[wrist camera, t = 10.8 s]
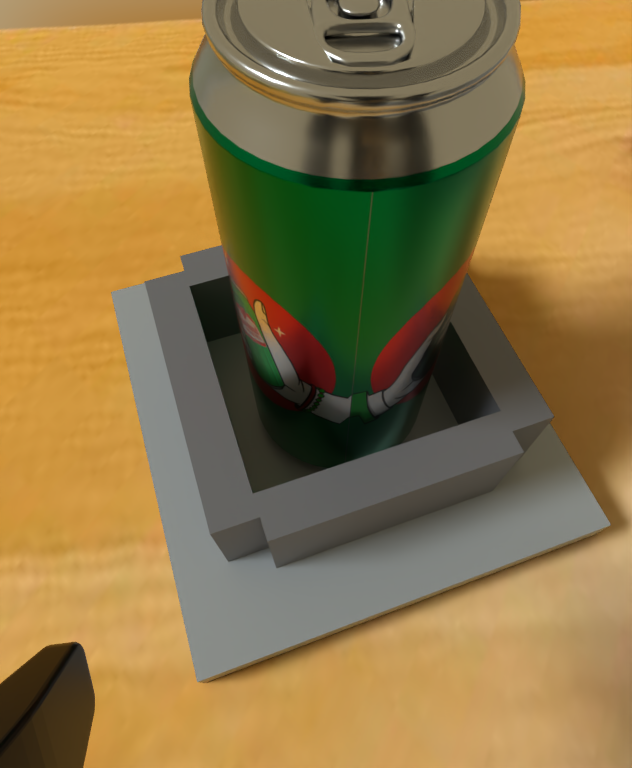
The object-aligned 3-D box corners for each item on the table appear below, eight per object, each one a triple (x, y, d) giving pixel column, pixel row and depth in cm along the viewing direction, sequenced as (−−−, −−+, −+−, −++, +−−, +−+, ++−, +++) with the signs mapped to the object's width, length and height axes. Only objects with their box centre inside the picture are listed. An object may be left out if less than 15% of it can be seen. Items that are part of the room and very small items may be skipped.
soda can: (406, 330, 20) (507, -101, 9) (428, 471, 17) (600, 107, 7) (257, 337, 19) (183, -91, 9) (257, 480, 17) (157, 124, 7)
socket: (596, 533, 17) (666, 491, 14) (204, 683, 15) (169, 677, 12) (417, 227, 23) (435, 142, 20) (119, 309, 21) (80, 231, 18)
